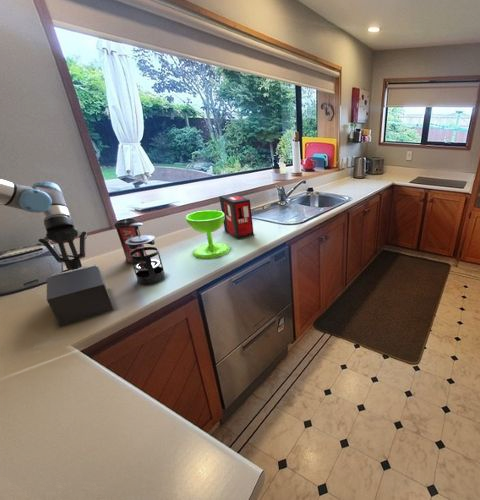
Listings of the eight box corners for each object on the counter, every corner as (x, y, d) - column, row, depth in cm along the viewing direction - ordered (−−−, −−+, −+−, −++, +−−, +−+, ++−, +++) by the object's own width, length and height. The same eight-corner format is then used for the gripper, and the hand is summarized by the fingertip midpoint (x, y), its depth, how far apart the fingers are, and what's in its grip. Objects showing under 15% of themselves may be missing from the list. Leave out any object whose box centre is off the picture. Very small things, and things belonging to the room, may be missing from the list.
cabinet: (58, 303, 94) (46, 278, 90) (107, 289, 103) (98, 266, 98) (60, 326, 84) (46, 299, 80) (113, 309, 92) (104, 284, 88)
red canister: (147, 254, 129) (136, 217, 122) (147, 260, 124) (136, 222, 116) (127, 257, 125) (114, 219, 118) (126, 264, 120) (112, 225, 112)
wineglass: (236, 246, 141) (231, 211, 134) (217, 260, 127) (210, 222, 119) (207, 242, 143) (201, 209, 136) (185, 256, 129) (177, 219, 122)
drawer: (59, 293, 98) (50, 273, 95) (102, 281, 105) (95, 263, 102) (61, 314, 88) (50, 293, 84) (108, 300, 95) (100, 280, 92)
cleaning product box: (224, 230, 160) (219, 196, 151) (239, 227, 166) (235, 193, 157) (238, 239, 150) (233, 202, 141) (253, 235, 156) (249, 199, 147)
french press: (169, 280, 110) (154, 225, 100) (140, 288, 104) (122, 230, 94) (161, 269, 117) (147, 217, 108) (134, 276, 111) (116, 221, 102)
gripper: (83, 221, 111) (102, 274, 108) (35, 229, 103) (55, 286, 99) (79, 212, 106) (99, 266, 102) (28, 219, 97) (49, 279, 94)
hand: (77, 276), depth 101 cm, fingers closed
